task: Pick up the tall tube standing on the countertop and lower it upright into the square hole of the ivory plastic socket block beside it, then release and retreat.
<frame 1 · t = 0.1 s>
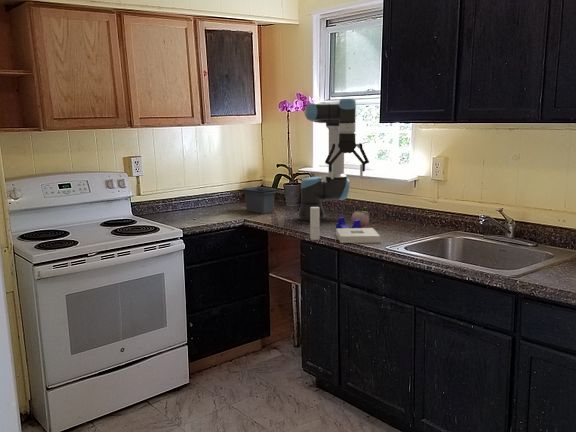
hand: (346, 178, 259), 28 cm above the worktop, fingers open, 13 cm apart
socket block: (357, 238, 261), on the worktop
storage bin: (260, 212, 336), on the worktop
decorative fruit: (360, 228, 284), on the worktop
tube: (314, 239, 261), on the worktop
blue shoe: (347, 231, 279), on the worktop
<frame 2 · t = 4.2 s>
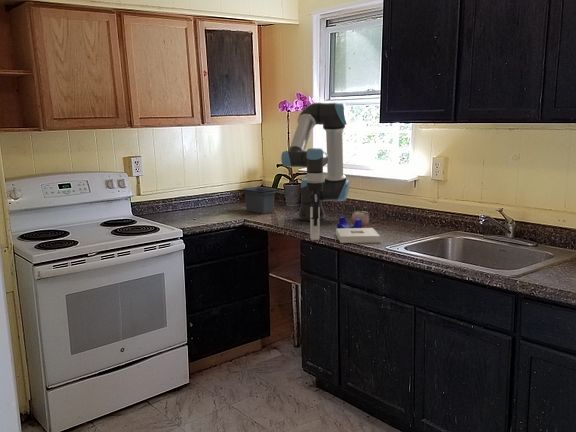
hand: (314, 231, 260), 4 cm above the worktop, fingers closed on tube, 4 cm apart
tube: (314, 239, 261), on the worktop, touching gripper
blue shoe: (349, 230, 280), on the worktop
everything else where it was.
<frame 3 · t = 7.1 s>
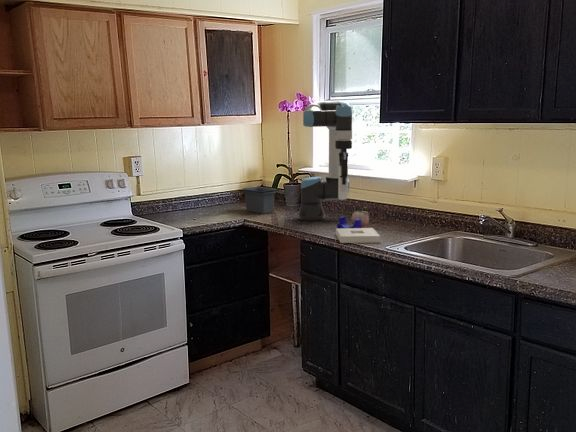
hand: (343, 190, 257), 23 cm above the worktop, fingers closed on tube, 4 cm apart
tube: (342, 198, 258), point 19 cm above the worktop, touching gripper
when the fingers open (4 cm above the worktop, at t = 10.2 s): tube stays where it is, on the worktop.
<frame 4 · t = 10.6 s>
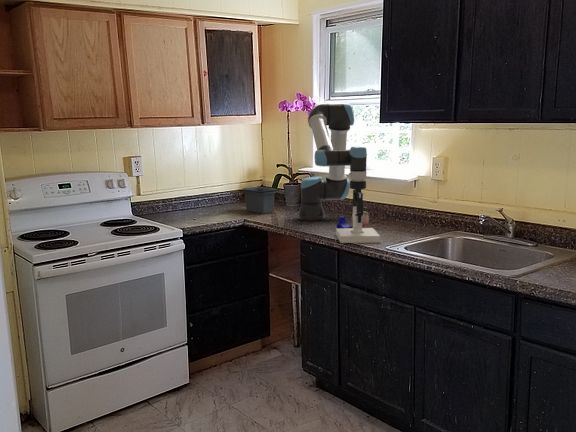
hand: (357, 227, 260), 5 cm above the worktop, fingers open, 10 cm apart
decorative fruit: (360, 228, 284), on the worktop, touching blue shoe
tube: (357, 238, 261), on the worktop
blue shoe: (348, 230, 281), on the worktop, touching decorative fruit
everything else where it was.
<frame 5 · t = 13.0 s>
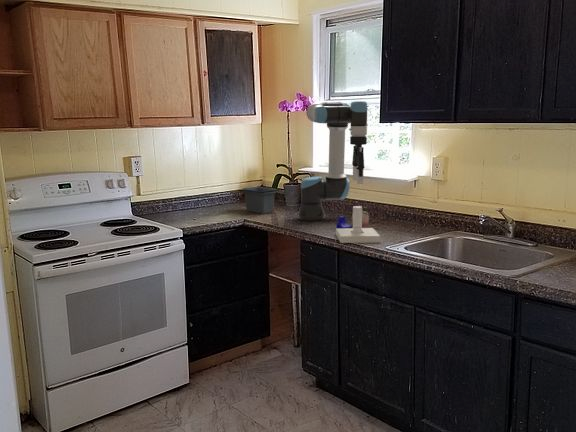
hand: (357, 182, 257), 27 cm above the worktop, fingers open, 13 cm apart
decorative fruit: (360, 228, 284), on the worktop
blue shoe: (347, 230, 282), on the worktop
everything else where it was.
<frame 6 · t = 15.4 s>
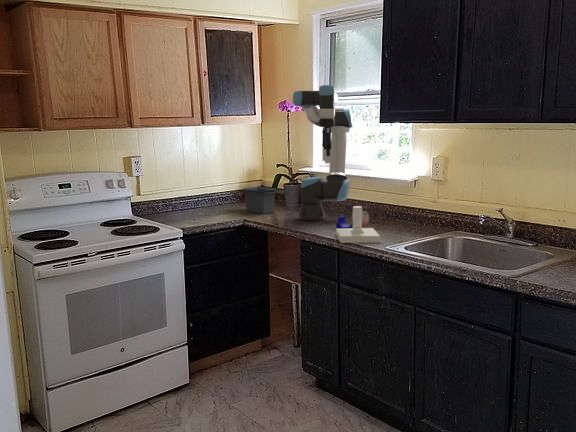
hand: (326, 162, 271), 35 cm above the worktop, fingers open, 13 cm apart
at the end: tube 0.1 cm off-centre on the socket block, point 0.0 cm above the socket block's base; tube tilted 0°; the gripper is holding nothing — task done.
